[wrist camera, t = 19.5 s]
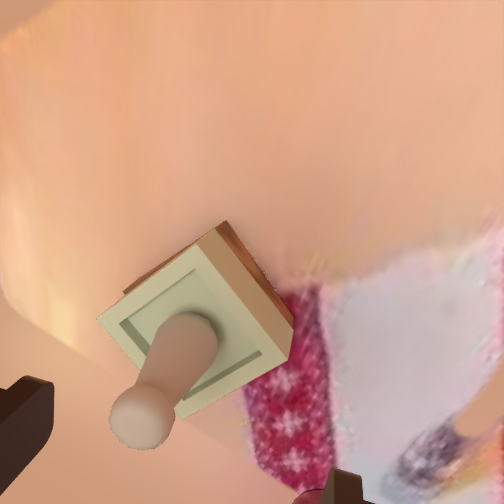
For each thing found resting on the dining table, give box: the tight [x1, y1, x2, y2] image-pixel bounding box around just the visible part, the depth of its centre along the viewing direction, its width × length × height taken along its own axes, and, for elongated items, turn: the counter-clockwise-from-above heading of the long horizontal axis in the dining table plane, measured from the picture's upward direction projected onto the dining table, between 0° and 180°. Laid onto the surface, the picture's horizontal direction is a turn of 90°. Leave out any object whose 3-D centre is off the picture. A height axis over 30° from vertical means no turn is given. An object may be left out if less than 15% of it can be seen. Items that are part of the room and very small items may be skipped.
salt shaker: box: [109, 312, 218, 450], centre depth 33 cm, size 6×6×13 cm
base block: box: [123, 221, 294, 327], centre depth 45 cm, size 13×13×4 cm
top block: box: [97, 228, 294, 420], centre depth 40 cm, size 13×13×6 cm
